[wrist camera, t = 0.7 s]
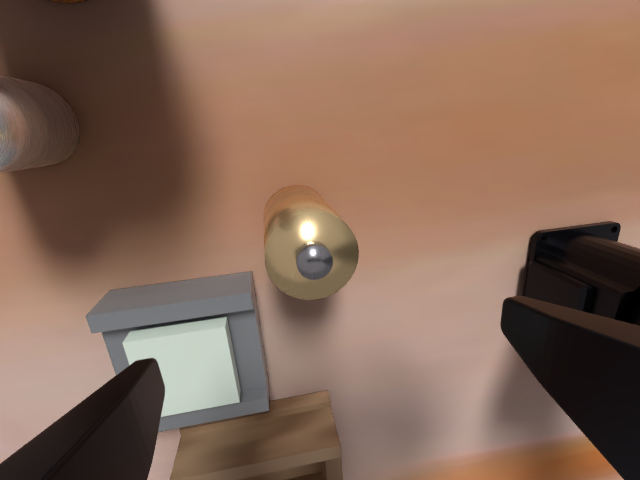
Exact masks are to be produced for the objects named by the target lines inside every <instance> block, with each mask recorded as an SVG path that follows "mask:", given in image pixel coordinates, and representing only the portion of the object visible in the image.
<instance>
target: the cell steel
mask: <svg viewBox="0 0 640 480" xmlns="http://www.w3.org/2000/svg"><path fill="white" fill-rule="evenodd" d="M79 138H80V128H79V123H78V120H77V117H76V115H75V113H74V111H73V109H72V108H71V106H70V105H69V104H68V103H67V101H66V100H65V99H64V98H63V97H62V96H60V95H59V94H58V93H57V92H55V91H54V90H52V89H50V88H48V87H46V86H44V85H41V84H39V83H35V82H31V81H26V80H21V79H17V78H12V77H7V76H3V75H0V173H5V172H11V171H17V170H23V169H29V168H35V167H41V166H47V165H53V164H57V163H60V162H62V161H64V160H66V159H67V158H69V157H70V156H71V155H72V154H73V153H74V151H75V150H76V148H77V146H78V143H79Z"/></svg>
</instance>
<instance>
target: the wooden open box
mask: <svg viewBox="0 0 640 480" xmlns="http://www.w3.org/2000/svg"><path fill="white" fill-rule="evenodd" d="M180 433H181V439H180V442H179V446H178V450H177V454H176V458H175V462H174V465H173V469H172V473H171V477H170V480H343V475H342V460H341V446H340V442H339V438H338V434H337V430H336V426H335V422H334V418H333V414H332V410H331V404H330V398H329V394H328V390H327V391H322V392H316V393H311V394H306V395H300V396H295V397H290V398H284V399H279V400H274V401H269V411H265V412H260V413H254V414H249V415H244V416H239V417H234V418H228V419H223V420H218V421H213V422H208V423H202V424H197V425H192V426H187V427H181V428H180Z"/></svg>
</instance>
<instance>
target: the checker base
mask: <svg viewBox="0 0 640 480" xmlns="http://www.w3.org/2000/svg"><path fill="white" fill-rule="evenodd" d="M222 317H227V320H228V325H229V330H230V336H231V341H232V346H233V351H234V357H235V362H236V367H237V373H238V378H239V383H240V388H241V392H240V402H239V403H234V404H228V405H223V406H217V407H212V408H207V409H201V410H196V411H191V412H185V413H180V414H175V415H169V416H164V417H161V418H160V424H159V429H158V432H161V431H166V430H171V429H176V428H181V427H187V426H192V425H197V424H202V423H208V422H213V421H218V420H223V419H228V418H234V417H239V416H244V415H249V414H254V413H260V412H265V411H269V387H268V373H267V367H266V360H265V354H264V347H263V340H262V334H261V327H260V321H259V314H258V308H257V301H256V295H255V288H254V282H253V275H252V271H250V272H243V273H235V274H228V275H220V276H213V277H205V278H198V279H190V280H183V281H175V282H168V283H160V284H153V285H145V286H138V287H130V288H123V289H115V290H110V291H109V292H108V293H107V294H106V295H105V296H104V297H103V298H102V299H101V300H100V301H99V302H98V304H97V305H96V306H95V307H94V308H93V309H92V310H91V311H90V312H89V313H88V314H87V315H86V319H87V322H88V324H89V327H90V330H91V333H98V332H102V335H103V338H104V341H105V344H106V347H107V350H108V352H109V355H110V358H111V361H112V364H113V367H114V370H115V373H116V375H118V374H119V373H120V372H121V371H123V370H124V369H125V368H127V367H128V366H129V362H128V359H127V356H126V353H125V350H124V347H123V341H124V340H125V338H126V337H127V335H128V333H129V332H130V331H136V330H143V329H149V328H156V327H163V326H169V325H176V324H183V323H189V322H196V321H203V320H209V319H216V318H222Z"/></svg>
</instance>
